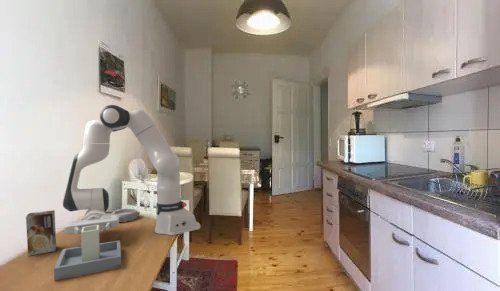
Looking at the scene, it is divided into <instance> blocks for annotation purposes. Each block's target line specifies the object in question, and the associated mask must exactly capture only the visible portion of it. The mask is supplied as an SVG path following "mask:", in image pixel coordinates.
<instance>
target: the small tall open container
mask: <svg viewBox="0 0 500 291" xmlns="http://www.w3.org/2000/svg"><path fill="white" fill-rule="evenodd" d="M80 239H81V240H80V242H81V244H80V245H81V248H82V262H86V261H92V260H97V259H100V243H101V242H100V230H99V225H93V226H86V227H83V228H82V231H81V234H80Z"/></svg>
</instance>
